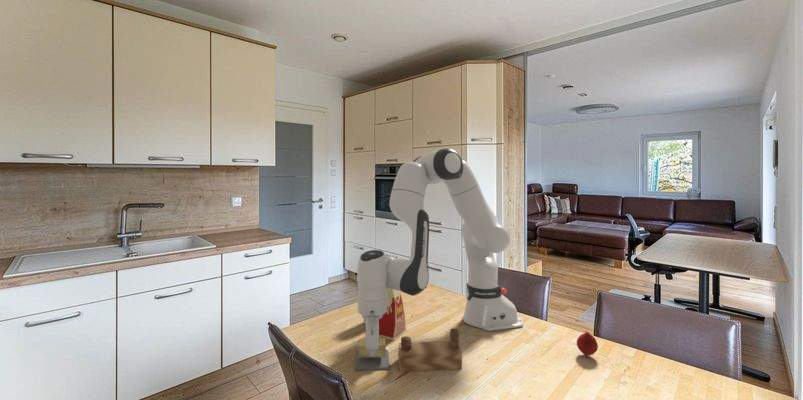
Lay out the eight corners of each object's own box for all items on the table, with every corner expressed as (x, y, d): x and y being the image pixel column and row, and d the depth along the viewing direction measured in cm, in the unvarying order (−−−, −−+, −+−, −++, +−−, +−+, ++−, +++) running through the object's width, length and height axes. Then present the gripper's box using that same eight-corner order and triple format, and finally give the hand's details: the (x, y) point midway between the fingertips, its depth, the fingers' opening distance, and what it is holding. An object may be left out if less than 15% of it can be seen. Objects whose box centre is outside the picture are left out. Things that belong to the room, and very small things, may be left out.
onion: (595, 352, 114) (596, 328, 113) (598, 362, 108) (600, 336, 107) (575, 349, 115) (576, 325, 115) (577, 358, 110) (578, 333, 109)
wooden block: (385, 348, 111) (385, 338, 110) (385, 356, 106) (385, 345, 106) (359, 349, 110) (359, 338, 110) (358, 357, 106) (358, 346, 105)
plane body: (456, 356, 111) (456, 325, 110) (461, 368, 104) (462, 335, 103) (398, 358, 110) (398, 327, 109) (400, 371, 103) (400, 338, 102)
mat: (388, 351, 114) (388, 349, 114) (389, 369, 104) (389, 367, 104) (356, 352, 113) (356, 350, 113) (355, 370, 103) (355, 368, 103)
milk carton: (406, 330, 129) (406, 276, 127) (395, 341, 121) (395, 283, 119) (384, 325, 133) (384, 272, 131) (371, 335, 124) (371, 279, 123)
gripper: (383, 319, 97) (383, 368, 98) (381, 293, 117) (382, 333, 118) (360, 320, 96) (360, 369, 98) (362, 293, 117) (362, 334, 118)
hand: (372, 349), depth 108 cm, fingers closed on wooden block, 4 cm apart
